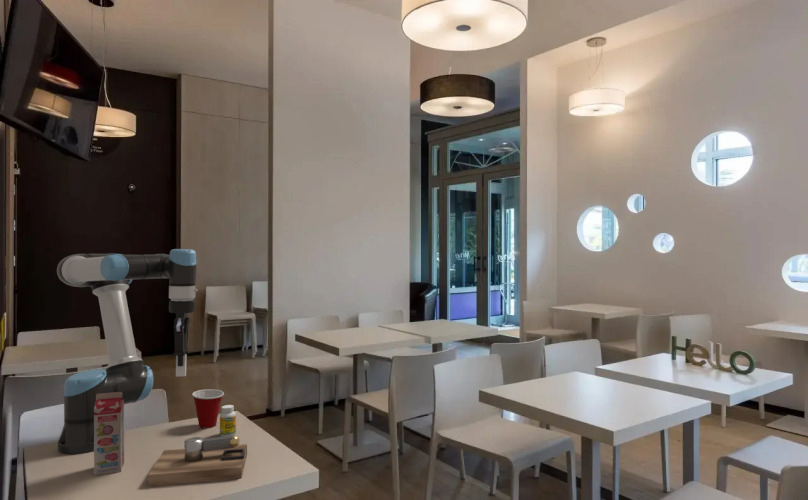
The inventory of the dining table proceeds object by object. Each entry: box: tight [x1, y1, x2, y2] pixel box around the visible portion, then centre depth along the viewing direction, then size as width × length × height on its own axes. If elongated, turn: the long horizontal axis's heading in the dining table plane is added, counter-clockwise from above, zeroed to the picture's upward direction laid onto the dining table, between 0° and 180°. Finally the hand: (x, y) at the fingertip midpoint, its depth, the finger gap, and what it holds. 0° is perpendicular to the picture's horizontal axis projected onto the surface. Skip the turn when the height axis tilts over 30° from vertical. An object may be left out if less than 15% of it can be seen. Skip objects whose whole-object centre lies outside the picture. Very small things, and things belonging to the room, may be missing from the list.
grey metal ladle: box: [183, 435, 241, 461], centre depth 155 cm, size 15×5×5 cm, turn 112°
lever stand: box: [147, 443, 248, 487], centre depth 153 cm, size 18×24×4 cm
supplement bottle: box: [219, 404, 237, 437], centre depth 182 cm, size 5×5×10 cm
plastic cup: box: [192, 389, 225, 429], centre depth 191 cm, size 11×11×12 cm
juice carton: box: [93, 392, 125, 476], centre depth 153 cm, size 7×7×22 cm
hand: (180, 375), depth 163 cm, fingers closed
